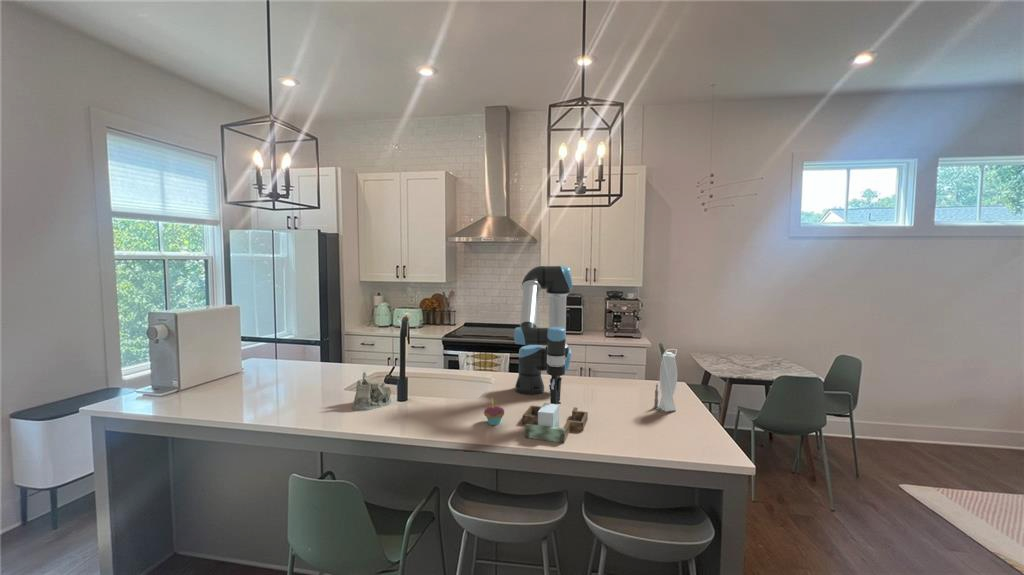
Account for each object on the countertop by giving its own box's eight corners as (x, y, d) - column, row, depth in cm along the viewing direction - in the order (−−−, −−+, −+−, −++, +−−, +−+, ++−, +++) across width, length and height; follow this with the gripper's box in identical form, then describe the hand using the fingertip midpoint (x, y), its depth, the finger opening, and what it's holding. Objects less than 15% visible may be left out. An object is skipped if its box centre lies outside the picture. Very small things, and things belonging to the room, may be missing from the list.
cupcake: (499, 428, 174) (499, 399, 173) (480, 425, 177) (480, 396, 176) (507, 420, 182) (507, 392, 181) (488, 417, 185) (488, 390, 184)
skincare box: (543, 427, 175) (544, 402, 174) (559, 429, 173) (559, 404, 172) (536, 437, 165) (537, 411, 164) (553, 440, 163) (553, 413, 162)
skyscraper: (668, 405, 202) (670, 346, 200) (680, 411, 195) (682, 350, 193) (653, 407, 200) (655, 347, 198) (664, 413, 192) (666, 351, 190)
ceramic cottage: (347, 410, 193) (349, 376, 192) (363, 399, 209) (365, 368, 208) (380, 414, 191) (382, 380, 190) (394, 403, 207) (396, 372, 206)
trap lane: (512, 435, 166) (513, 423, 166) (533, 410, 195) (533, 399, 195) (577, 445, 159) (577, 431, 158) (588, 416, 187) (589, 405, 187)
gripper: (561, 369, 172) (560, 426, 173) (567, 361, 184) (566, 415, 186) (543, 367, 174) (542, 424, 176) (550, 360, 186) (549, 413, 188)
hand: (555, 419), depth 181 cm, fingers closed
